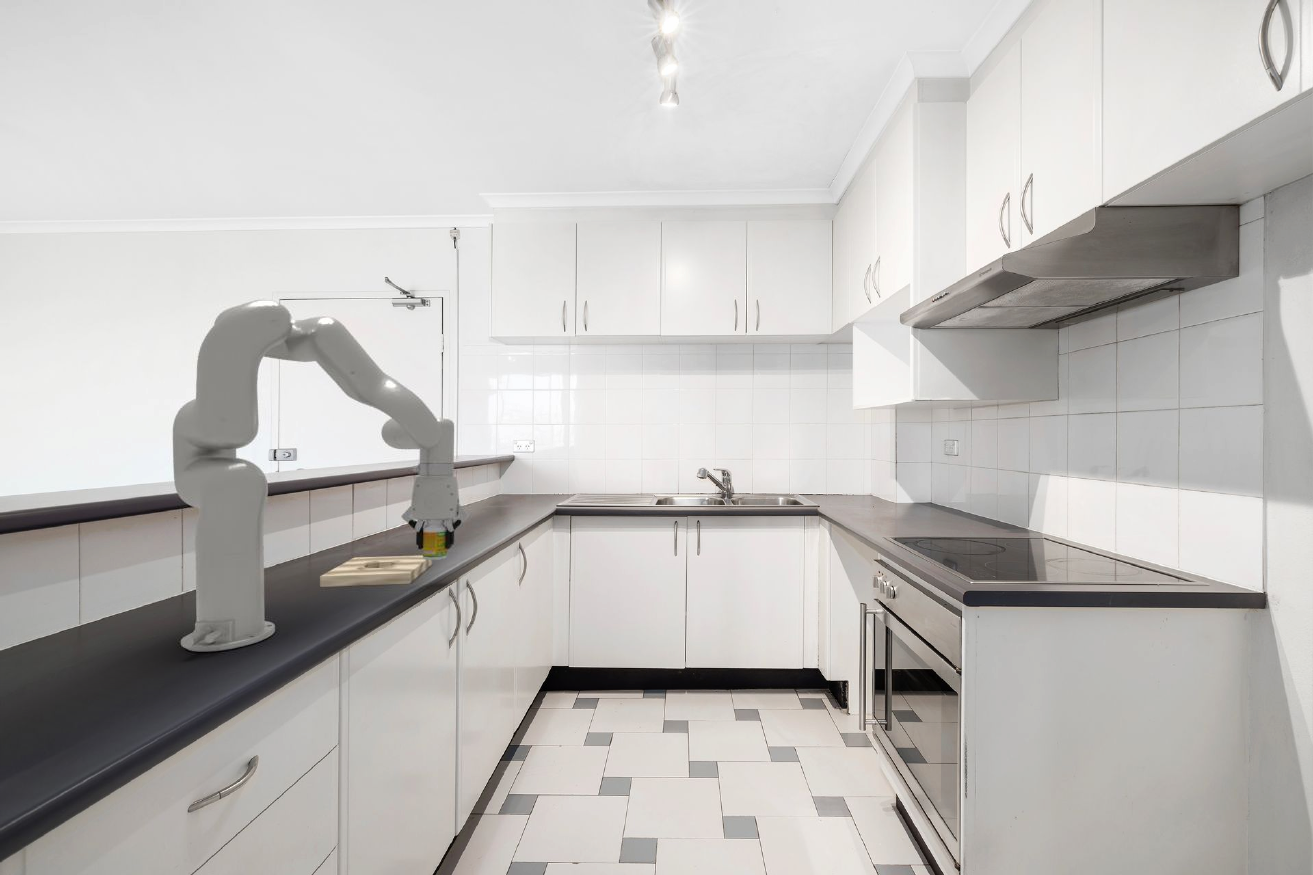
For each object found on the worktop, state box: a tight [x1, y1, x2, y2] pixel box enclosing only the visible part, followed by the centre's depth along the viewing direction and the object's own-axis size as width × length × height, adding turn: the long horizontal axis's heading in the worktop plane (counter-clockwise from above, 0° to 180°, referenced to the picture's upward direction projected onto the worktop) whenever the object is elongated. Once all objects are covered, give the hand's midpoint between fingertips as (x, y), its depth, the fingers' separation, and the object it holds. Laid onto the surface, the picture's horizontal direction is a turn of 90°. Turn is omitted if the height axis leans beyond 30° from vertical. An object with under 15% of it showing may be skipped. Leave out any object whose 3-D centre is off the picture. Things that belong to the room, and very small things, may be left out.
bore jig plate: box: [319, 555, 433, 588], centre depth 145 cm, size 20×20×2 cm
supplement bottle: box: [422, 520, 448, 561], centre depth 134 cm, size 5×5×10 cm
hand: (435, 547), depth 134 cm, fingers closed on supplement bottle, 5 cm apart
